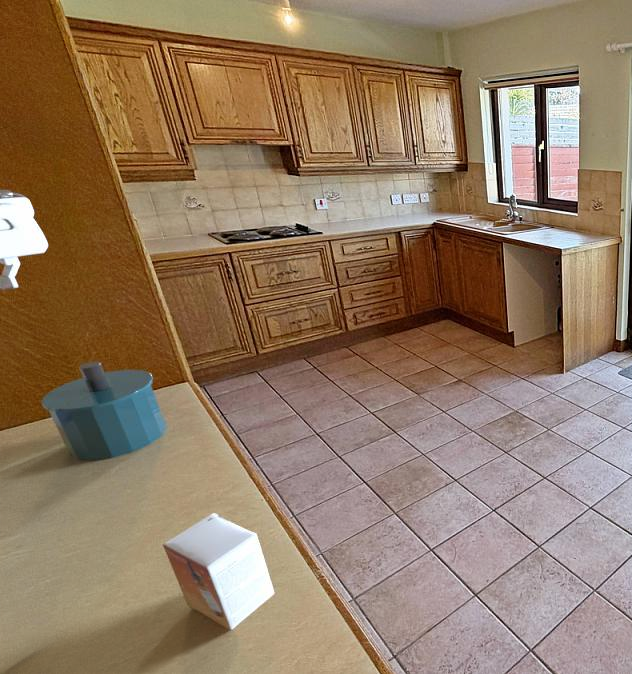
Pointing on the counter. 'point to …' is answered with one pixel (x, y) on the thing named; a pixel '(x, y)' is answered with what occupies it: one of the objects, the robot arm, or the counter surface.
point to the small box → (220, 570)
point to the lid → (96, 389)
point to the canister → (112, 427)
